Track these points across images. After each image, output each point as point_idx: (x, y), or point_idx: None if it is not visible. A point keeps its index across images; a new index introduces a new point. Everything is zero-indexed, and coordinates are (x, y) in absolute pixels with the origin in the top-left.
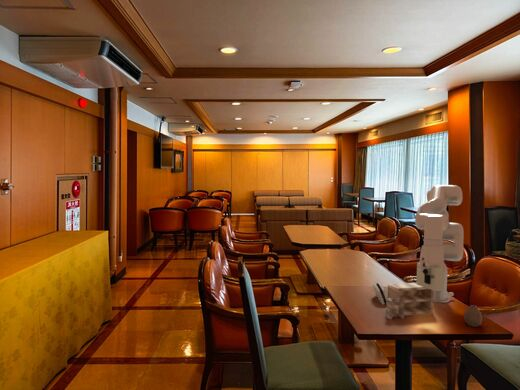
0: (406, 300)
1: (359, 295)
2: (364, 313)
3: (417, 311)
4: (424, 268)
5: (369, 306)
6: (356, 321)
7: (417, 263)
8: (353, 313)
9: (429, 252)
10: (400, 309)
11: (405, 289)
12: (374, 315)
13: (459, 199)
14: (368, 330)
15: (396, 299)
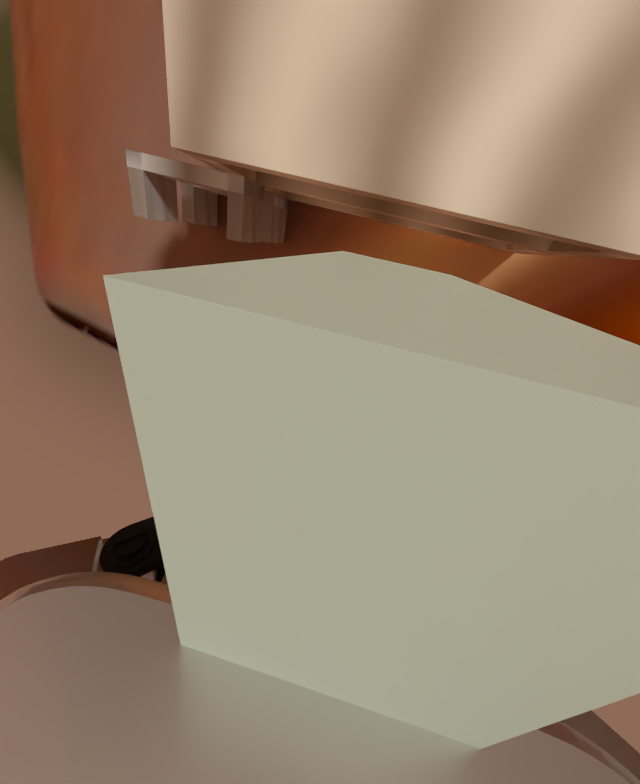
0: (313, 194)
1: None
2: (117, 48)
3: (413, 221)
4: (166, 582)
5: None
6: (42, 169)
7: (136, 323)
8: (50, 12)
9: None
10: (264, 213)
11: (268, 171)
12: (160, 121)
13: None
14: (68, 285)
15: (207, 185)
